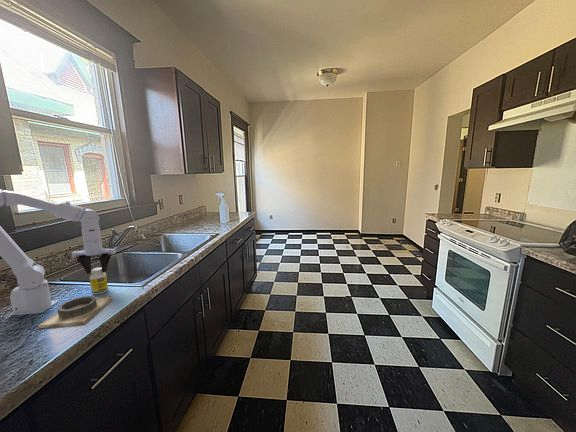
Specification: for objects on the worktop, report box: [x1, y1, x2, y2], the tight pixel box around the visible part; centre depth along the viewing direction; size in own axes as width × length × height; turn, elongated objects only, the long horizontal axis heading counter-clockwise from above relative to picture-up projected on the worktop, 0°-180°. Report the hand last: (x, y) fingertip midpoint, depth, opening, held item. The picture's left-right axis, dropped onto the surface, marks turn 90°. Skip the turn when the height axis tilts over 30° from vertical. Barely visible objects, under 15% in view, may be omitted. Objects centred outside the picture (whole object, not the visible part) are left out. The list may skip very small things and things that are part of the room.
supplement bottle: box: [89, 266, 109, 295], centre depth 100 cm, size 5×5×10 cm
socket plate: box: [37, 295, 113, 329], centre depth 85 cm, size 13×16×4 cm
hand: (97, 272), depth 100 cm, fingers open, 5 cm apart
